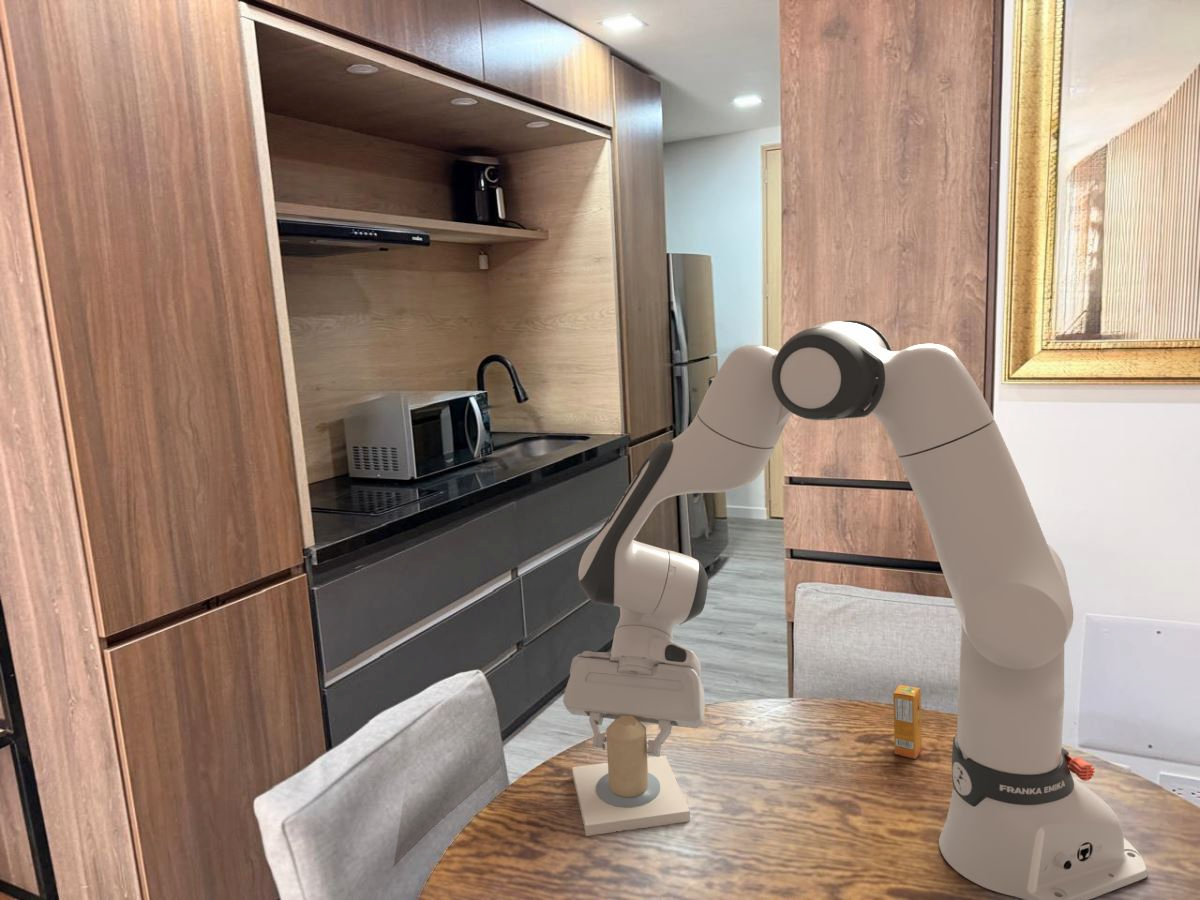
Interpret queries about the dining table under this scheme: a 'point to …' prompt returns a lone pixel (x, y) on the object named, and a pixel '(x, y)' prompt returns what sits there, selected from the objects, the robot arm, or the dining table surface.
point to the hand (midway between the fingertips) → (625, 752)
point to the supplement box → (907, 721)
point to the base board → (629, 799)
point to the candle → (627, 757)
